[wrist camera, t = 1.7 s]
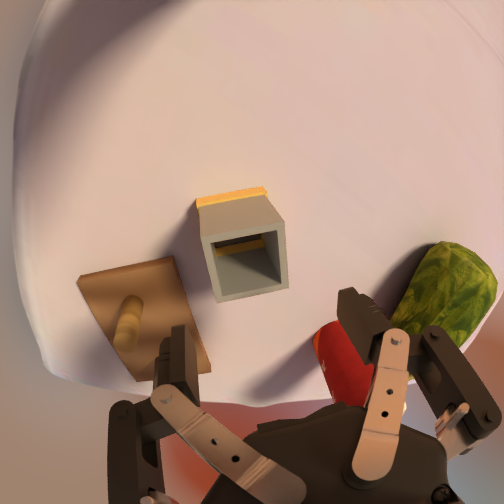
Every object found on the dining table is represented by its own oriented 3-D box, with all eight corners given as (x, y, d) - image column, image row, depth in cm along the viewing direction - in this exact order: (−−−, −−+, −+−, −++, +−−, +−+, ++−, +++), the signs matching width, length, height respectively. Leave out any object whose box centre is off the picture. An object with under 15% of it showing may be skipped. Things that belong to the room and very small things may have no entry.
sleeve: (196, 198, 23) (196, 235, 17) (262, 186, 23) (287, 217, 17) (209, 256, 25) (214, 305, 19) (269, 244, 26) (291, 289, 20)
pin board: (80, 275, 24) (57, 320, 18) (173, 256, 25) (167, 303, 19) (137, 374, 32) (133, 417, 26) (210, 364, 33) (215, 409, 27)
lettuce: (345, 349, 37) (378, 412, 27) (422, 219, 28) (490, 269, 18) (395, 349, 40) (428, 399, 30) (463, 241, 32) (516, 284, 22)
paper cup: (293, 350, 34) (329, 445, 22) (328, 307, 32) (384, 404, 20) (335, 358, 37) (374, 438, 25) (369, 320, 34) (422, 400, 22)
